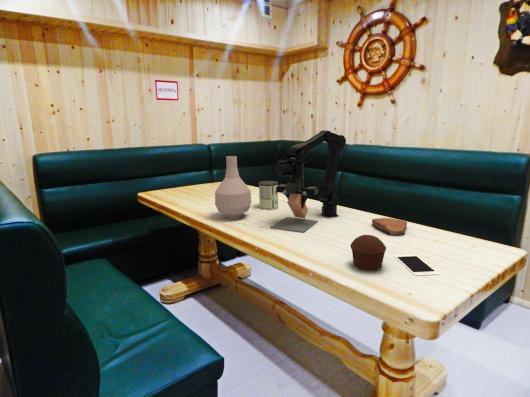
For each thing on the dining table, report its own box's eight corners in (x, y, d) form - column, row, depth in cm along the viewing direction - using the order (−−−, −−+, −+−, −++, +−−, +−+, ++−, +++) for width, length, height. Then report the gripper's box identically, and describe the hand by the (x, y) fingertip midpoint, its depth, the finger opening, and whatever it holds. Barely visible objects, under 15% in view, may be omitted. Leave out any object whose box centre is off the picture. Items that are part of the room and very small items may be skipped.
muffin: (391, 272, 112) (393, 242, 110) (356, 274, 111) (357, 243, 109) (376, 257, 124) (378, 230, 121) (345, 259, 123) (346, 231, 120)
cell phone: (415, 277, 109) (415, 275, 109) (393, 257, 125) (393, 255, 125) (439, 275, 110) (440, 274, 110) (415, 256, 125) (415, 254, 125)
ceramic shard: (369, 222, 147) (371, 217, 161) (370, 237, 148) (372, 231, 162) (407, 220, 142) (406, 215, 156) (408, 236, 142) (407, 230, 156)
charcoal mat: (286, 217, 174) (286, 216, 174) (318, 221, 166) (318, 220, 166) (270, 228, 158) (270, 227, 158) (303, 232, 151) (303, 231, 151)
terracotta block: (298, 208, 171) (290, 193, 161) (308, 209, 168) (300, 194, 158) (295, 217, 169) (287, 202, 159) (305, 218, 166) (297, 203, 156)
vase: (209, 216, 179) (206, 156, 172) (239, 210, 189) (237, 153, 182) (227, 224, 165) (224, 159, 158) (258, 217, 175) (257, 156, 168)
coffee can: (260, 205, 199) (259, 180, 196) (278, 205, 198) (278, 180, 195) (258, 210, 189) (257, 184, 186) (277, 210, 188) (277, 184, 185)
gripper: (270, 175, 157) (270, 210, 160) (310, 178, 148) (309, 214, 152) (281, 172, 166) (281, 204, 170) (319, 174, 158) (318, 208, 161)
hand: (296, 208), depth 163 cm, fingers closed on terracotta block, 5 cm apart
